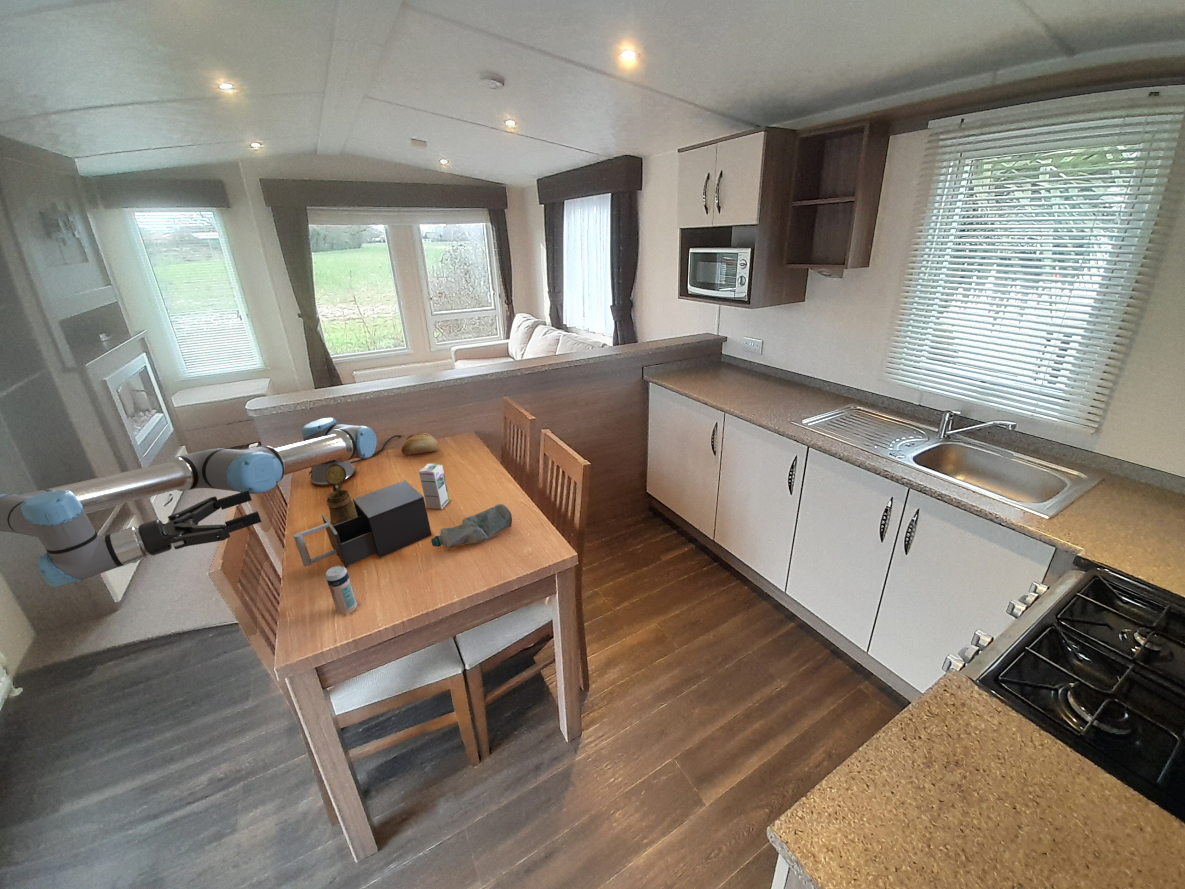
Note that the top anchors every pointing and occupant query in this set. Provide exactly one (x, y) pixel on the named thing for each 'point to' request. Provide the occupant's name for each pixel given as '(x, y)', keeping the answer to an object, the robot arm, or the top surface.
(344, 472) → the wooden mug
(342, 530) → the dark grey drawer
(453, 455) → the top surface
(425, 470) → the syrup box
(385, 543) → the drawer cabinet
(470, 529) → the crushed plastic bottle
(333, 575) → the beer can
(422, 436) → the bread roll
